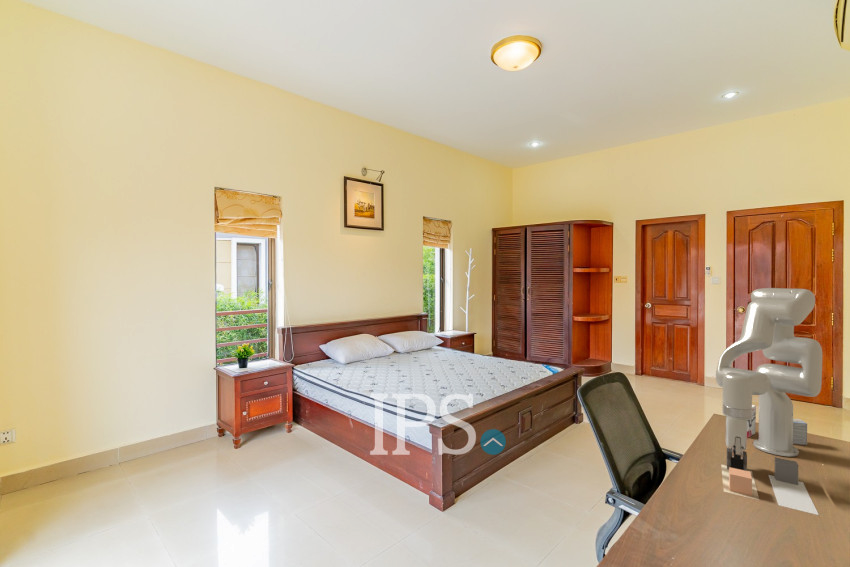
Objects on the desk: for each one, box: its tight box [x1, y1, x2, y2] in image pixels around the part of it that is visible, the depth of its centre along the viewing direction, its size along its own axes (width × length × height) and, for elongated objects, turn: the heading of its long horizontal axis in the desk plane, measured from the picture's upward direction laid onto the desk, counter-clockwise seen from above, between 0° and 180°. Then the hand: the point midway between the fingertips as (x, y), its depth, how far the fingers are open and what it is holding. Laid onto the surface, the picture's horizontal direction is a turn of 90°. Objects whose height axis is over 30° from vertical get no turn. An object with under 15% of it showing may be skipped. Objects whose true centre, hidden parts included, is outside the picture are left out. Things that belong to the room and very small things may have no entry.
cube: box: [729, 467, 752, 496], centre depth 116 cm, size 5×5×5 cm
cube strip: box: [720, 447, 760, 501], centre depth 121 cm, size 20×8×7 cm, turn 145°
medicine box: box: [793, 418, 808, 446], centre depth 151 cm, size 8×4×9 cm, turn 71°
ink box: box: [747, 404, 757, 439], centre depth 159 cm, size 8×5×12 cm, turn 123°
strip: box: [768, 457, 819, 516], centre depth 114 cm, size 20×8×7 cm, turn 145°
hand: (736, 466), depth 128 cm, fingers closed on cube strip, 3 cm apart
